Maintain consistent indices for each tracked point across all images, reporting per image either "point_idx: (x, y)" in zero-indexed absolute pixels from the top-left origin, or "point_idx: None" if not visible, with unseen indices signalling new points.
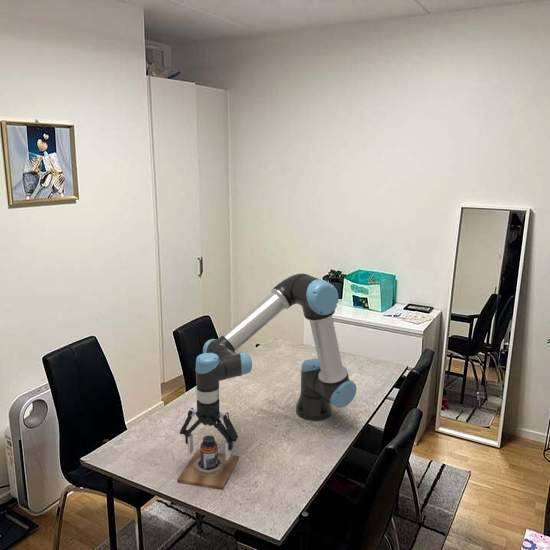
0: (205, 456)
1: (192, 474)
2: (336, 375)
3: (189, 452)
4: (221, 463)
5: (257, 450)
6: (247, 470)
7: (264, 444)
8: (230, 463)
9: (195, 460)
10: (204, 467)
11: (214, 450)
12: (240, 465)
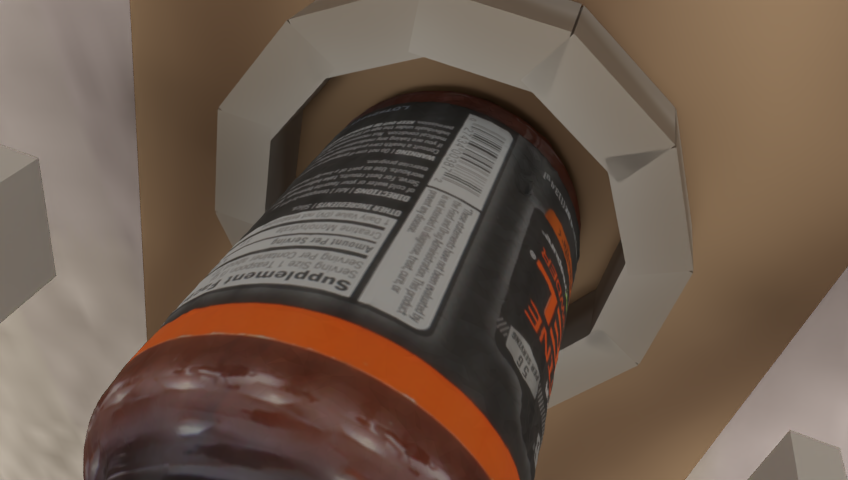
0: (399, 260)
1: (741, 39)
2: None
3: (814, 474)
4: (246, 207)
5: (49, 394)
6: (5, 116)
7: (30, 447)
8: (193, 238)
9: (668, 368)
10: (498, 135)
11: (135, 354)
12: (110, 213)
